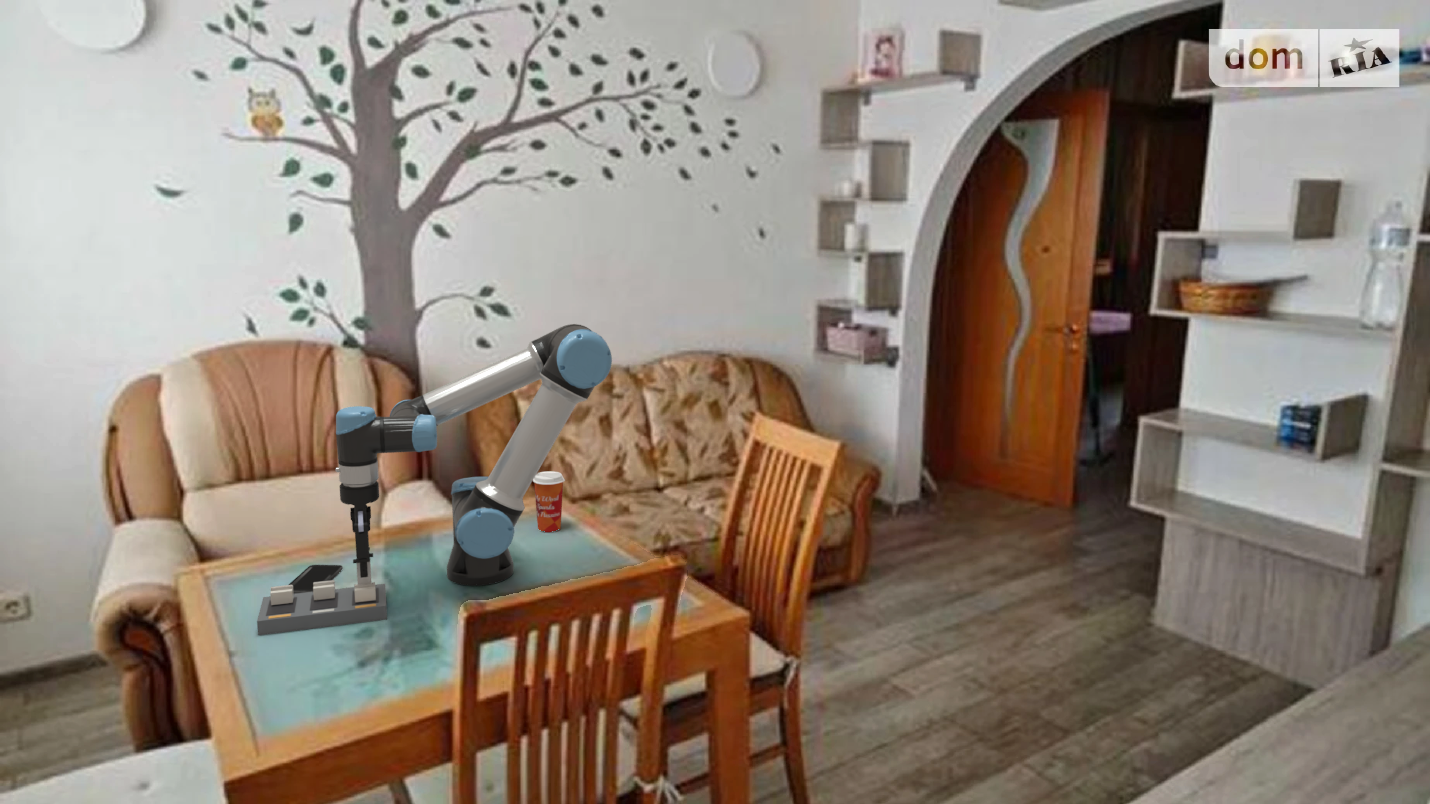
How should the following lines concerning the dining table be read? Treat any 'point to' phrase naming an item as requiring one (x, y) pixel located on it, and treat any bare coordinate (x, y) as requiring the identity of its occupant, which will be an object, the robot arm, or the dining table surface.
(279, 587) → the switch tab
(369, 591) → the switch tab
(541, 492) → the coffee cup
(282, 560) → the dining table surface
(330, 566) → the phone
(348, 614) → the switch board
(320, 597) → the switch tab
